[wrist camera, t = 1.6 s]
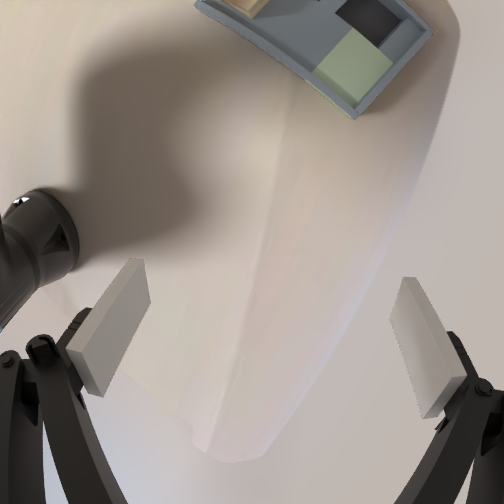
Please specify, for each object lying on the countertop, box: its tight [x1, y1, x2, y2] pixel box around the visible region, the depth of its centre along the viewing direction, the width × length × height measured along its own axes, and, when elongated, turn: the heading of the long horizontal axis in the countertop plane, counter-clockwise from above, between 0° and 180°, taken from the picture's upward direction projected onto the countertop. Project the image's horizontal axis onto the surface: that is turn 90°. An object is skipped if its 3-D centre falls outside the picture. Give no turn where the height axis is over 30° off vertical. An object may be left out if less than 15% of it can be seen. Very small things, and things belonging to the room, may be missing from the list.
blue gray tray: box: [194, 0, 435, 120], centre depth 25 cm, size 21×15×4 cm
